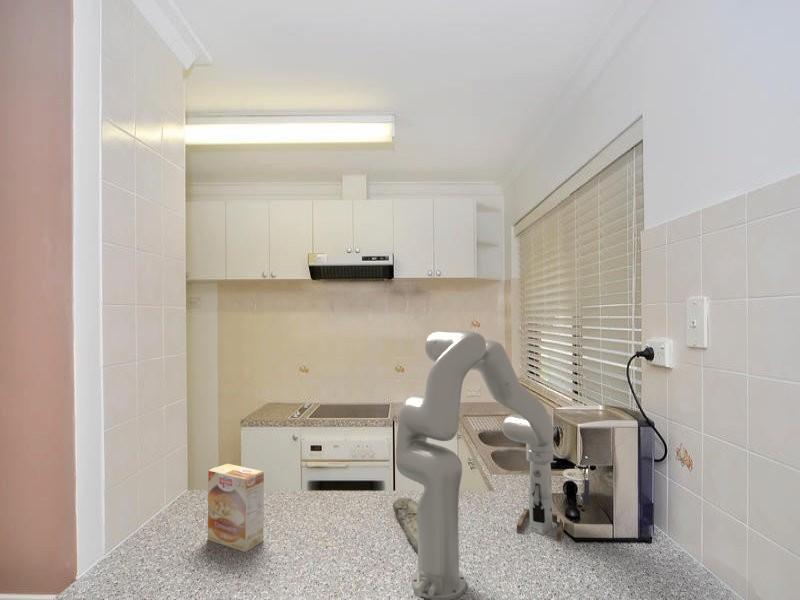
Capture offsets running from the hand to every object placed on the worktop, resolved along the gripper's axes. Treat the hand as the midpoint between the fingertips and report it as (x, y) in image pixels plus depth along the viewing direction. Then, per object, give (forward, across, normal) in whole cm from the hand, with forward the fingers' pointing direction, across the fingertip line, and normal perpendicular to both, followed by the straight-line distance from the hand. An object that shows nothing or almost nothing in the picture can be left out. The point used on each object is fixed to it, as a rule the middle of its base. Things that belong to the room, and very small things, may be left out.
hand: (540, 515), depth 129 cm
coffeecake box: (+4, -43, +77) cm, 88 cm away
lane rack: (+4, +1, 0) cm, 4 cm away
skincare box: (+4, 0, 0) cm, 4 cm away
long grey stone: (+4, -16, +33) cm, 37 cm away
